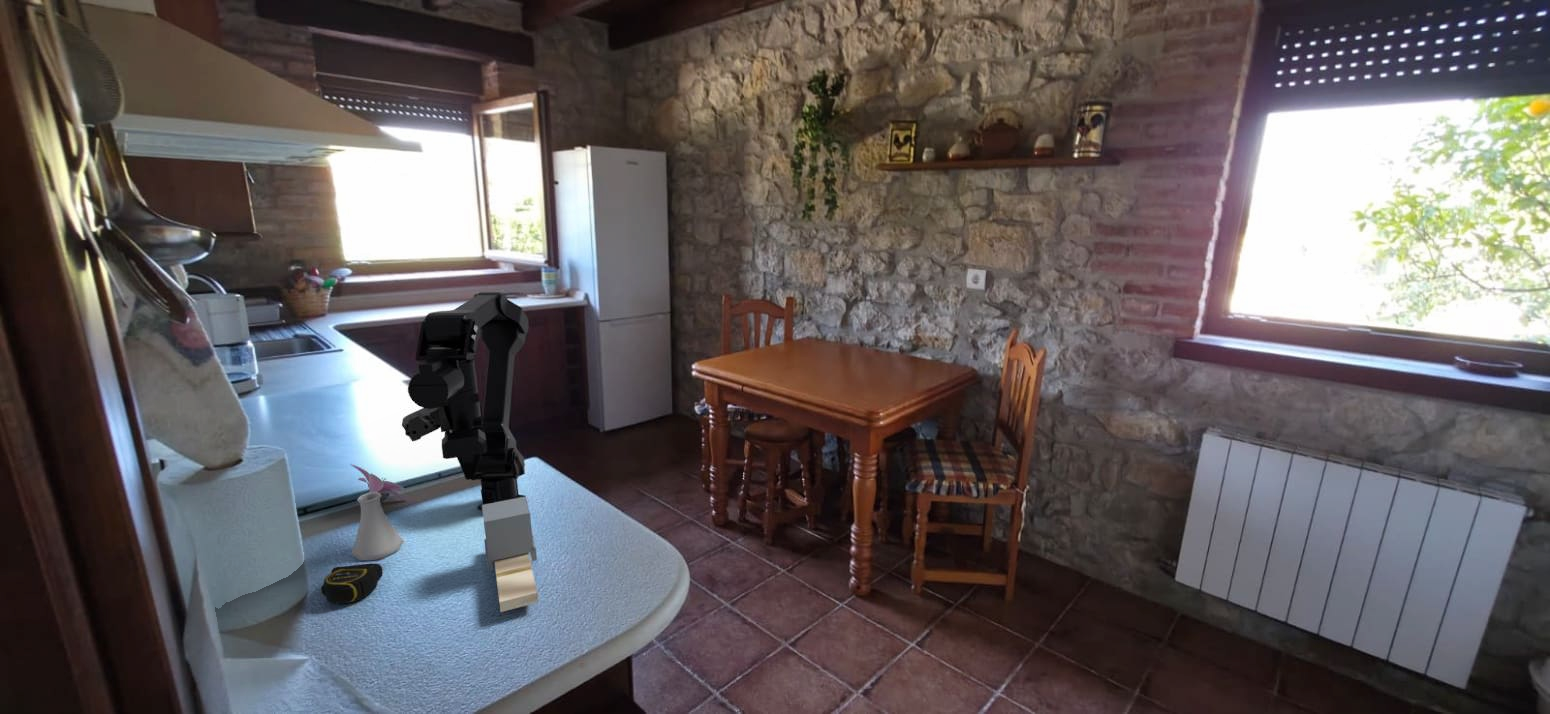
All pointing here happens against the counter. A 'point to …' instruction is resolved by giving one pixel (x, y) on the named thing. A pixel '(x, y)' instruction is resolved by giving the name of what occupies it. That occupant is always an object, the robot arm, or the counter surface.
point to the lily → (379, 484)
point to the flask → (374, 531)
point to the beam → (515, 582)
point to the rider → (507, 530)
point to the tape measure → (351, 582)
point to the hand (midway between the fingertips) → (469, 475)
